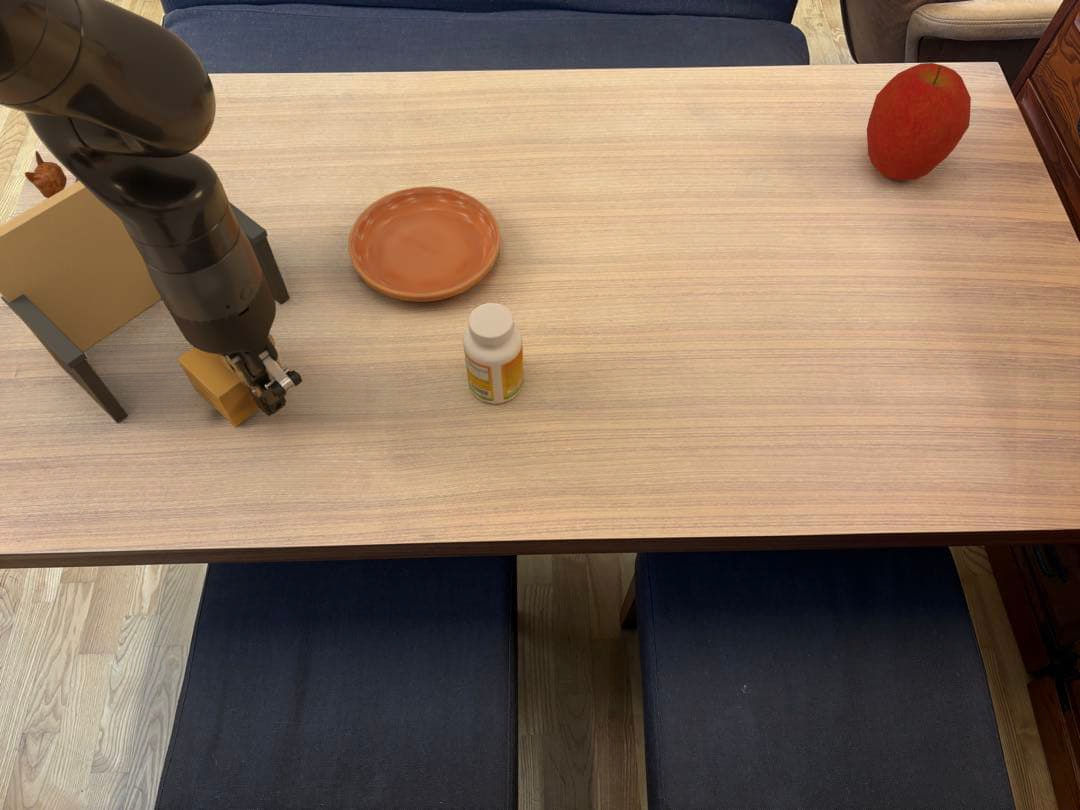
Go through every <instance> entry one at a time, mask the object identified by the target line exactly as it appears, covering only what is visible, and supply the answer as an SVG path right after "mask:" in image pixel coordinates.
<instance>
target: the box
mask: <svg viewBox="0 0 1080 810" xmlns="http://www.w3.org/2000/svg"><path fill="white" fill-rule="evenodd" d="M177 362H178V363H179V365H180V367H181V368H182V370H183V372H184V373H185V375H186V376H187V378H188V379H189V381H190V383H191V385H192V387H193V388H194V390H195V391H196V392H198V394H199V395H201V397H203V398H204V399H205V400H206V401H207V402H208V403H209V404H210V405H211V406H212V407H213V408H214V409H216V410H217V412H218V413H220V414H221V415H222V417H224V418H225V419H226V420H227V421H228V422H229V423H230V424H231V425H232V426H233V427H234V428H237V427H238V426H239V425H241V424H242V423H243V422H244V421H246V420H247V419H248V418H249V417H251V416H252V415H253V414H254V413H255V414H256V412H257V411H259V410H261V409H260V408H259V407H258V406H257V404H256V402H255V400H254V398H253V396H252V395H251V393H250V391H249V389H248V387H246V386H245V385H243V384H242V383H241V382H240V379H239V377H238V375H237V374H234V373H233V372H232V371H230V370H229V369H227V367H226V366H225V364H224V363H223V361H222V359H221V358H220V357H219V355H218V354H212V353H207V352H204V351H201V350H199V349H197V348H195V347H192V348H190V349H189V350H188V351H186V352H185V353H184V354H182V355H180V356H179V357H177ZM280 368H281V369H282V370H284V369H283V367H282V365H281V364H280Z"/></svg>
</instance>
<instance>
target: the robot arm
mask: <svg viewBox="0 0 1080 810" xmlns="http://www.w3.org/2000/svg"><path fill="white" fill-rule="evenodd" d="M0 106H3V107H5V108H8V109H13V110H15V111H18V112H19V111H20V112H23V113H24V115H25V117H26V119H27V121H28V123H29V125H30V126H31V129H32V130H33V132H34V133H35V136H37V138H38V139H39V140H40V142H41V143H42V145H44V147H45V148H46V149H47V151H49V153H51V155H52V156H53V157H54V158H55V159H56V160H57V161H58V162H59V163H60V164H61V165H62V166H63V167H64V168H65V169H66V170H67V171H68V172H69V173H71V174H72V175H73V177H74V178H75V179H76V178H77V179H78V180H79V181H80V182H81V183H82V184H83V185H84V186H85V187H86V188H87V189H88V190H89V191H90V192H91V193H92V194H93V195H94V196H95V197H96V198H97V199H98V200H99V201H101V202H102V203H103V204H104V205H105V206H106V207H108V208H109V209H110V210H111V211H112V212H114V213H115V214H116V215H117V216H118V217H119V218H120V220H121V221H122V223H123V225H124V227H125V229H126V230H127V232H128V234H129V236H130V238H131V239H132V241H133V243H134V244H135V246H136V248H137V250H138V251H139V253H140V255H141V257H142V258H143V260H144V262H145V265H146V268H147V271H148V273H149V276H150V278H151V281H152V283H153V284H154V286H155V288H156V290H157V291H158V293H159V295H160V297H161V298H162V299H161V300H162V302H163V303H164V305H165V307H166V308H167V310H168V313H170V316H171V317H172V319H173V320H174V323H176V326H177V327H178V329H179V331H180V332H181V334H182V336H183V337H184V339H185V340H186V342H187V343H188V344H189V345H191V346H192V348H194V347H195V348H197V349H199V350H201V351H204V352H207V353H212V354H218V355H219V357H220V358H221V359H222V361H223V363H224V364H225V366H226V367H227V369H229V370H230V371H232V372H233V373H234V374H237V375H238V377H239V379H240V382H241V383H242V384H243V385H245V386H246V387H248V389H249V391H250V393H251V395H252V396H253V398H254V400H255V402H256V404H257V406H258V407H259V408H260V409H259V410H261V411H262V412H263V413H265V415H266V416H268V417H270V416H273V415H275V414H276V413H277V412H279V411H280V410H281V409H283V408H284V407H285V406H286V404H287V399H286V395H287V394H288V393H290V392H291V391H292V390H294V389H295V388H297V386H299V385H300V384H301V383H303V382H304V381H303V378H302V376H301V373H299V372H297V371H296V370H294V369H293V370H290V368H289V367H286V368H285V369H283V368H282V369H283V370H282V369H281V368H280V365H281V362H280V359H279V353H278V350H277V348H275V346H276V341H275V339H274V336H273V335H272V333H271V329H272V327H273V324H274V322H275V319H276V315H277V305H276V302H275V301H276V300H275V299H274V298H273V296H272V293H271V291H270V289H269V286H268V284H267V281H266V279H265V277H264V274H263V272H262V269H261V267H260V265H259V262H258V260H257V258H256V255H255V253H254V250H253V248H252V246H251V244H250V241H249V239H248V238H247V236H246V235H245V233H244V232H243V230H242V229H241V227H240V225H239V223H238V221H237V219H236V217H235V215H234V212H233V210H232V207H231V205H230V203H231V202H230V200H229V198H228V196H227V192H226V190H225V188H224V186H223V183H222V181H221V179H220V177H219V175H218V174H217V172H216V170H215V169H214V168H213V166H212V165H211V164H210V162H208V161H207V160H205V159H204V158H202V157H200V156H199V155H197V154H196V153H193V151H195V150H196V149H197V148H199V146H201V145H202V144H203V142H204V141H205V140H206V139H207V138H208V136H209V134H210V133H211V130H212V128H213V125H214V122H215V118H216V110H217V103H216V93H215V90H214V86H213V83H212V80H211V77H210V74H209V73H208V71H207V69H206V67H205V65H204V64H203V62H202V61H201V59H200V58H199V56H198V54H197V53H196V52H195V51H194V50H193V48H191V46H189V45H188V43H186V41H184V40H183V39H182V38H181V37H179V36H178V35H177V34H176V33H174V32H173V31H171V30H170V29H168V28H166V27H165V26H162V25H161V24H159V23H157V22H155V21H154V20H151V19H149V18H147V17H144V16H142V15H140V14H138V13H135V12H133V11H131V10H128V9H126V8H124V7H122V6H120V5H117V4H115V3H114V2H111V1H108V0H0ZM229 202H230V203H229Z"/></svg>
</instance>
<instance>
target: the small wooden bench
mask: <svg viewBox="0 0 1080 810" xmlns="http://www.w3.org/2000/svg"><path fill="white" fill-rule="evenodd" d="M229 203H230V205H231V207H232V210H233V212H234V215H235V217H236V219H237V221H238V223H239V225H240V227H241V229H242V230H243V232H244V233H245V235H246V236H247V238H248V239H249V241H250V244H251V246H252V248H253V250H254V253H255V255H256V258H257V260H258V262H259V265H260V267H261V269H262V272H263V274H264V277H265V279H266V281H267V284H268V286H269V289H270V291H271V293H272V296H273V298H274V301H276V302H277V303H279V304H280V305H283V304H285V303H286V302H287V301H288V300H290V299H291V297H290V295H289V292H288V289H287V287H286V284H285V281H284V278H283V276H282V274H281V271H280V268H279V266H278V263H277V261H276V258H275V255H274V253H273V250H272V248H271V244H270V242H269V240H268V238H267V237H268V232H267V230H266V229H265V228H264V227H263V226H261V225H260V224H259V223H258V222H256V221H255V220H254V219H252V218H251V217H250V216H248V215H247V214H246V213H245V212H244V211H242V210H241V209H239V208H238V207H236V205H234V204H233V203H231V202H230V201H229ZM0 295H1V297H0V298H1V300H2V301H3V302H4V304H5V305H7V306H8V307H9V309H10V310H11V311H12V312H14V314H15V315H16V316H17V317H18V318H19V319H20V320H21V321H22V322H23V323H24V324H25V325H26V327H27V328H28V329H29V330H30V332H31V333H32V334H33V336H34V337H35V338H36V339H37V340H38V341H39V343H40V344H41V345H42V346H43V348H44V349H45V350H46V351H47V352H48V354H49V355H50V356H51V357H52V358H53V360H54V361H55V362H56V363H57V364H58V365H59V366H60V367H61V368H62V369H63V370H64V371H65V372H66V373H67V374H68V375H69V376H70V377H71V378H72V379H73V381H75V382H76V384H78V385H79V386H80V387H81V389H83V390H84V391H85V392H86V393H87V395H89V396H90V397H91V398H92V400H94V401H95V403H97V404H98V405H99V406H100V408H102V409H103V410H104V412H106V413H107V415H108V416H109V417H110V418H111V419H112V420H113V421H114V422H116V423H117V424H119V423H120V422H122V421H123V420H124V419H126V418H127V417H128V416H129V415H128V413H127V412H126V410H125V409H124V408H123V406H122V405H121V404H120V402H119V401H118V400H117V399H116V397H115V396H114V394H112V392H111V391H110V390H109V388H108V387H107V386H106V384H105V383H104V382H103V380H102V379H101V378H100V376H99V375H98V374H97V372H96V371H95V369H93V367H92V366H91V365H90V364H89V362H88V361H87V359H88V357H87V355H86V354H85V353H84V352H85V351H87V350H88V349H90V348H91V347H93V346H94V345H96V344H97V343H98V342H100V341H102V340H103V339H104V338H106V337H107V336H109V335H111V334H112V333H113V332H115V331H116V330H118V329H119V328H121V327H122V326H124V325H125V324H127V323H128V322H130V321H131V320H132V319H135V317H137V316H138V315H140V314H141V313H143V312H144V311H146V310H147V309H149V308H150V307H152V306H153V305H155V304H156V303H158V302H160V301H161V300H162V298H161V297H160V295H159V293H158V291H157V290H156V288H155V286H154V284H153V283H152V281H151V278H150V276H149V273H148V271H147V268H146V265H145V262H144V260H143V258H142V257H141V255H140V253H139V251H138V250H137V248H136V246H135V244H134V243H133V241H132V239H131V238H130V236H129V234H128V232H127V230H126V229H125V227H124V225H123V223H122V221H121V220H120V218H119V217H118V216H117V215H116V214H115V213H114V212H112V211H111V210H110V209H109V208H108V207H106V206H105V205H104V204H103V203H102V202H101V201H99V200H98V199H97V198H96V197H95V196H94V195H93V194H92V193H91V192H90V191H89V190H88V189H87V188H86V187H85V186H84V185H83V184H82V183H81V182H80V181H77V182H75V181H74V182H73V183H72V184H70V185H69V186H67V187H65V188H64V189H63V190H62V191H60V192H58V193H57V194H55V195H53V196H51V197H50V198H46V199H45V200H43V201H41V202H39V203H38V204H36V205H34V206H33V207H30V208H29V209H27V210H26V211H23V212H22V213H21V214H19V215H17V216H15V217H14V218H12V219H10V220H8V221H7V222H5V223H3V224H2V225H0Z"/></svg>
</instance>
